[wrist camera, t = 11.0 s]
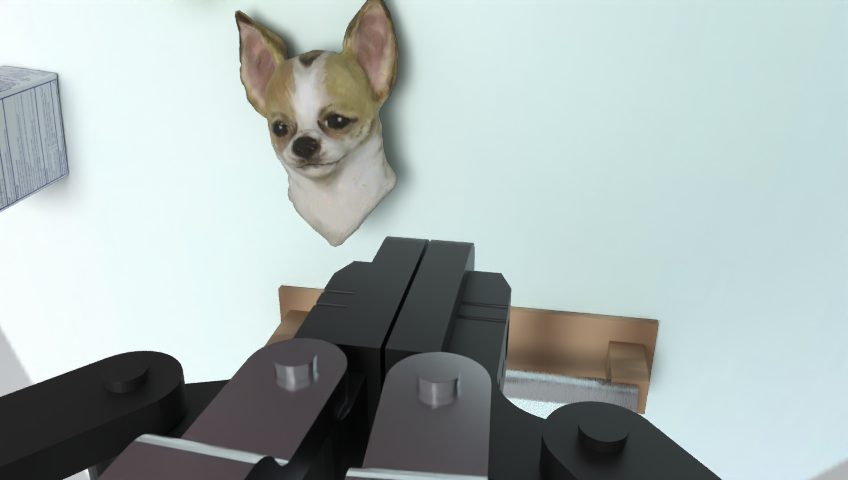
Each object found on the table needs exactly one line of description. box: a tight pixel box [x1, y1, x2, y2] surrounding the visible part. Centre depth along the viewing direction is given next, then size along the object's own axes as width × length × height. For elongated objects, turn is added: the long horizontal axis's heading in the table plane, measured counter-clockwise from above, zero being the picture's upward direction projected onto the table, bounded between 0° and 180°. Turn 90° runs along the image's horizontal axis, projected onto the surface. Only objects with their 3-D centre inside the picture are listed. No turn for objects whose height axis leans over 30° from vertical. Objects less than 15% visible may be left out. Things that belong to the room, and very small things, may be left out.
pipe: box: [503, 368, 638, 412], centre depth 52 cm, size 25×3×3 cm, turn 88°
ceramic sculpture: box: [235, 0, 398, 247], centre depth 48 cm, size 11×9×15 cm
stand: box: [264, 286, 658, 414], centre depth 53 cm, size 28×6×8 cm, turn 88°
